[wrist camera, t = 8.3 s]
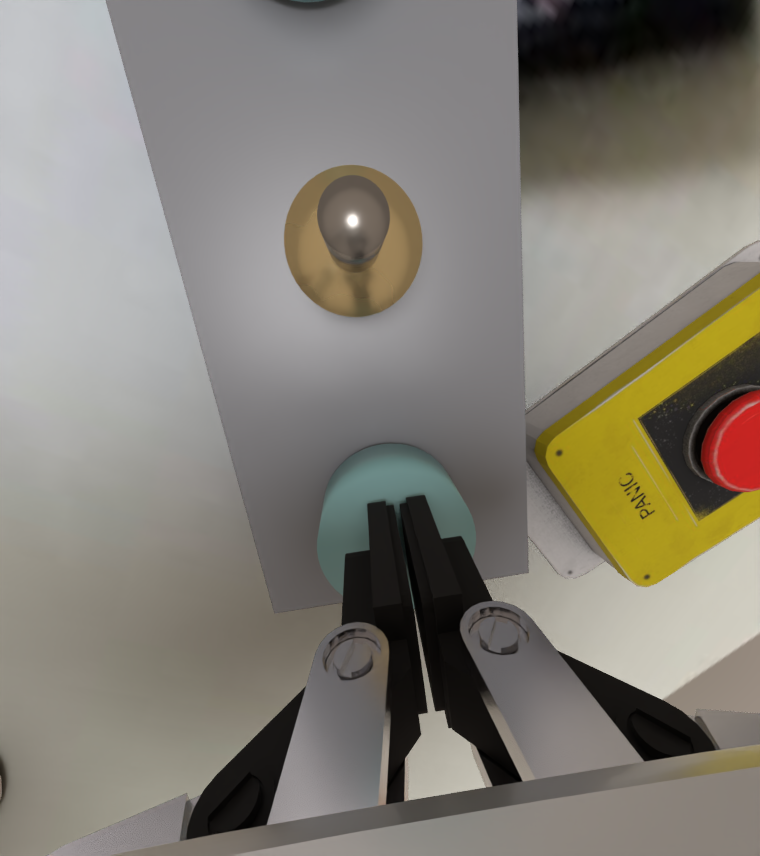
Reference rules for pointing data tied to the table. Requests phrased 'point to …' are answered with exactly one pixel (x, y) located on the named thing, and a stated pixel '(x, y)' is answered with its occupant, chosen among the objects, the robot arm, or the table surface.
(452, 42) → the mount
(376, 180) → the door knob
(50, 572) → the table surface
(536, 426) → the emergency button
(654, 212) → the table surface
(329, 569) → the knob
